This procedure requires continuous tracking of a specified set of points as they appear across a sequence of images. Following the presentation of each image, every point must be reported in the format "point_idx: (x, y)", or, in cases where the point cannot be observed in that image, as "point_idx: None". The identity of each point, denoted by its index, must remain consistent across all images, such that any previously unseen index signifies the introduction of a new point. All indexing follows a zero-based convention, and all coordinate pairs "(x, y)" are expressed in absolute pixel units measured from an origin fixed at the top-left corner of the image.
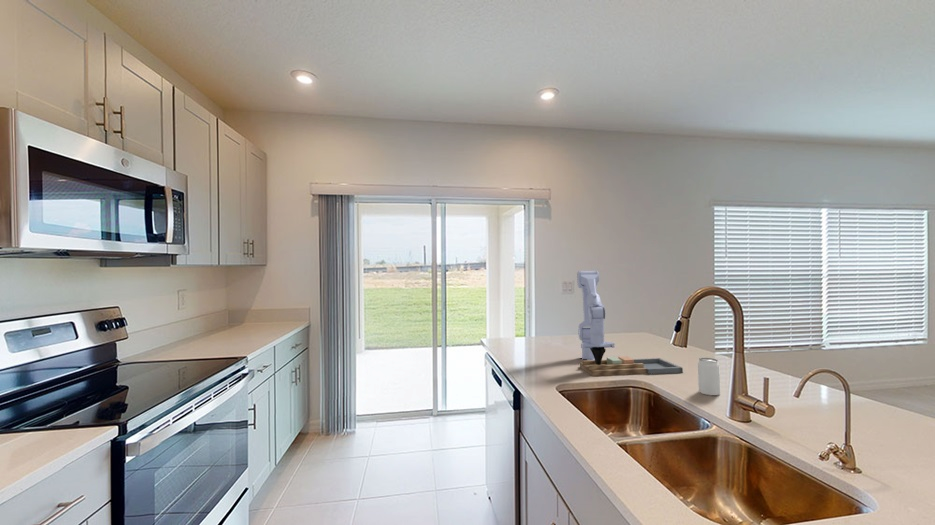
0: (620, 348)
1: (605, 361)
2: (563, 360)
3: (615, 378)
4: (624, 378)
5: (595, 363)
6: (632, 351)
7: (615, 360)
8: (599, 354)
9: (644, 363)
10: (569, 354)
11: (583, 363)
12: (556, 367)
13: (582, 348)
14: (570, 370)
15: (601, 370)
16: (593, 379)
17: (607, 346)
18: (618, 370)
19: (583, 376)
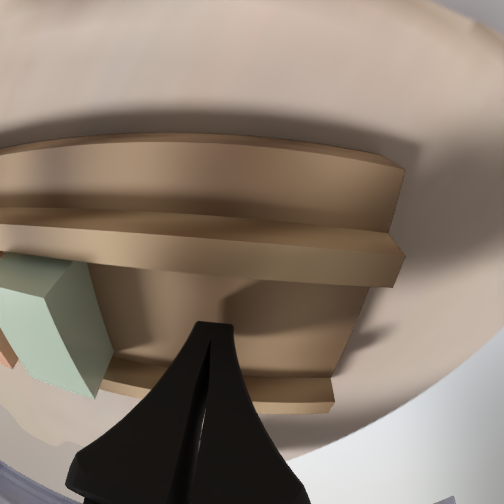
0: (51, 441)
1: (116, 373)
2: (312, 448)
3: (177, 19)
4: (92, 21)
5: None
6: (19, 416)
7: (19, 296)
8: (188, 436)
9: None
10: None
11: (324, 386)
12: (432, 381)
13: (453, 499)
14: (420, 334)
15: (270, 168)
16: (427, 61)
17: (37, 496)
18: (61, 146)
19: (453, 178)
